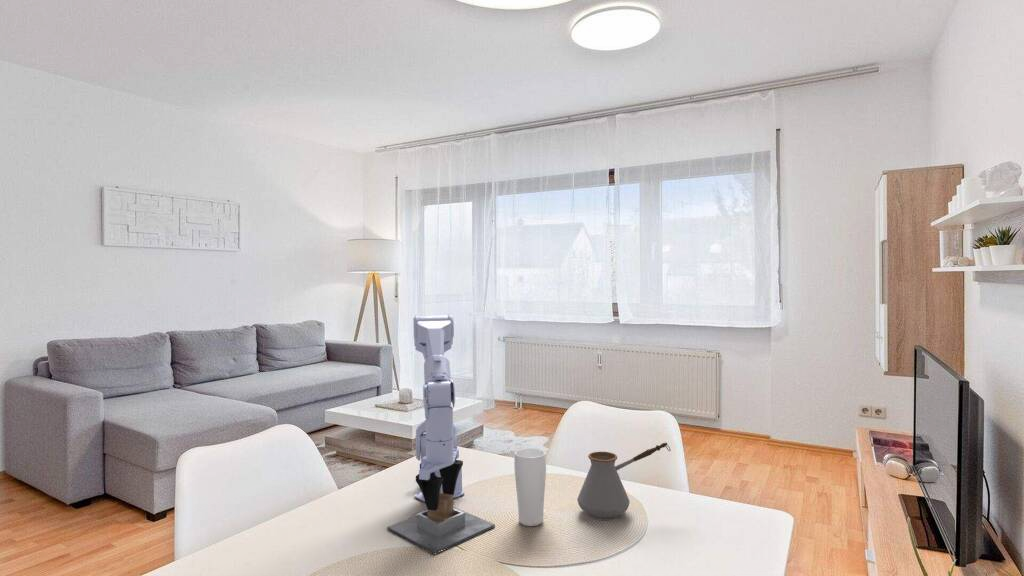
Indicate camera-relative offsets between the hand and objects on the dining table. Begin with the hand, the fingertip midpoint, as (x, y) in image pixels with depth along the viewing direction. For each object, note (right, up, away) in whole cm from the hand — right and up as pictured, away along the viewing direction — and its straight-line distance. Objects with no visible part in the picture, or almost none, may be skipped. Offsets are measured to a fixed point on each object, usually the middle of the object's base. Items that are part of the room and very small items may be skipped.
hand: (440, 502), depth 117 cm
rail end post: (0, -5, 0) cm, 5 cm away
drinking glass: (+19, -5, +2) cm, 20 cm away
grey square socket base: (0, -6, 0) cm, 6 cm away
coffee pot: (+40, -5, +7) cm, 41 cm away
